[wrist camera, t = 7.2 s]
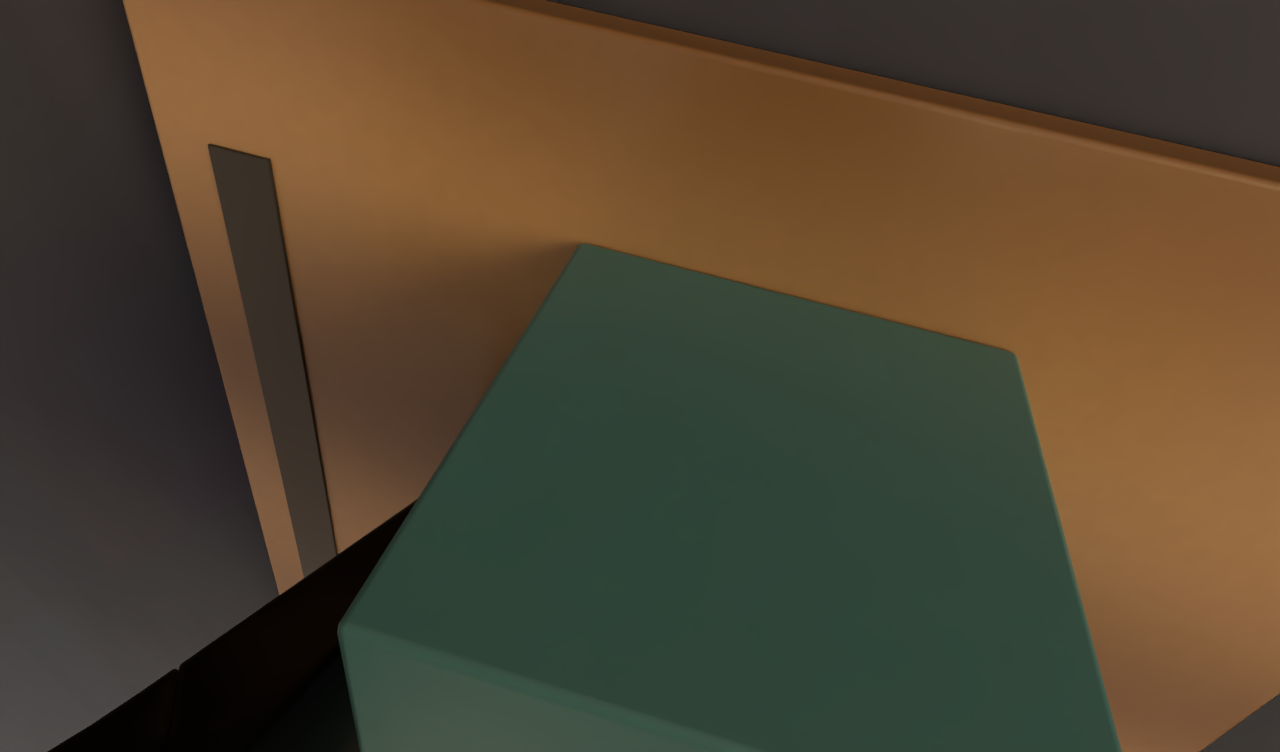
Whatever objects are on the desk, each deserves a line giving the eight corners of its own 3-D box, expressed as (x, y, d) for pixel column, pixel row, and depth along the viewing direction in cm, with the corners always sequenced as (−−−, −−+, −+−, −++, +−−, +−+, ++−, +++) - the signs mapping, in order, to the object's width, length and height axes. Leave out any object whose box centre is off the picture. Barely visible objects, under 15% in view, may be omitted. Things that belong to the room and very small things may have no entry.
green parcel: (790, 736, 12) (758, 1127, 9) (532, 657, 13) (400, 1001, 9) (1019, 350, 7) (1170, 904, 4) (578, 238, 8) (324, 639, 4)
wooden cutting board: (137, -95, 7) (91, -87, 7) (1756, 273, 6) (1822, 308, 6) (304, 617, 15) (288, 642, 14) (1030, 843, 14) (1035, 876, 13)
